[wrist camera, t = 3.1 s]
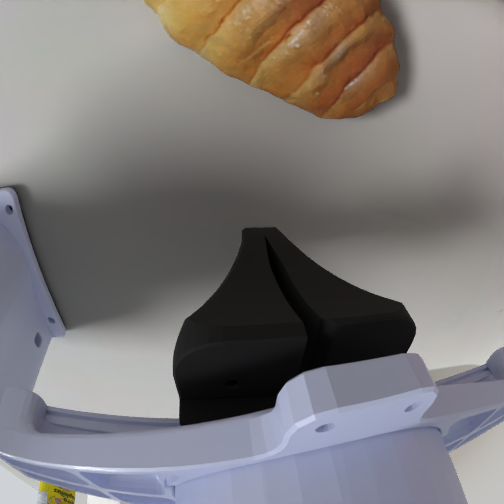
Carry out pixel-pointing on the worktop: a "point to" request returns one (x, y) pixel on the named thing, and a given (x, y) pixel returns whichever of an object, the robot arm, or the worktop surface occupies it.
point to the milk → (102, 500)
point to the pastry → (294, 48)
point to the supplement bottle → (54, 494)
